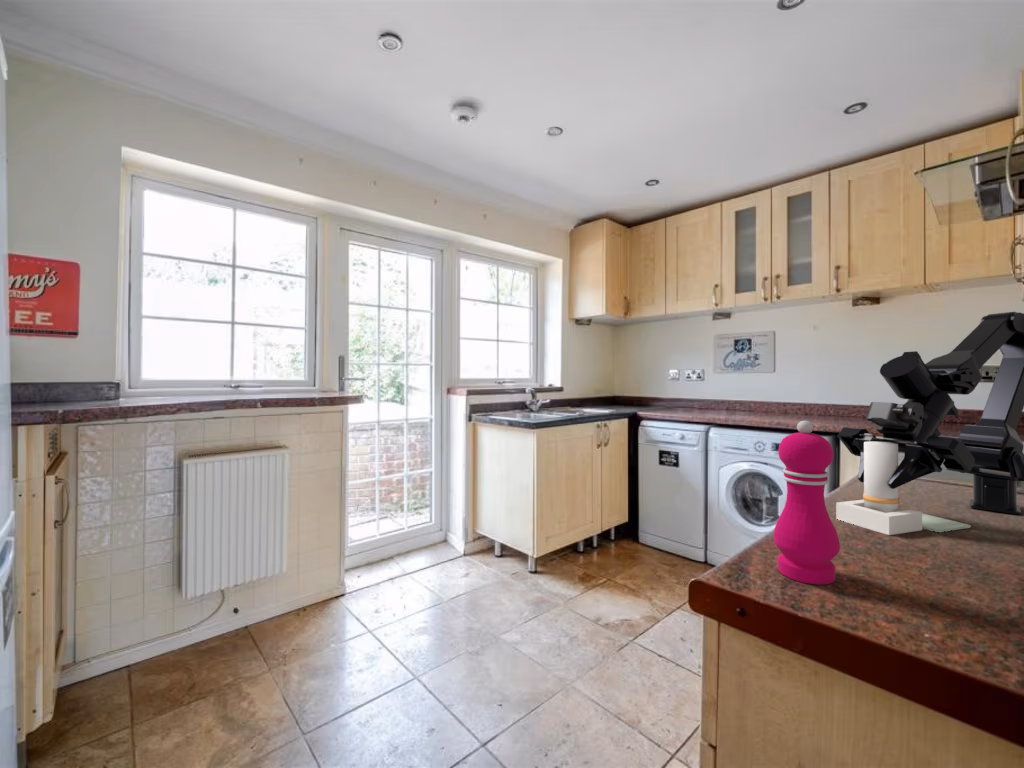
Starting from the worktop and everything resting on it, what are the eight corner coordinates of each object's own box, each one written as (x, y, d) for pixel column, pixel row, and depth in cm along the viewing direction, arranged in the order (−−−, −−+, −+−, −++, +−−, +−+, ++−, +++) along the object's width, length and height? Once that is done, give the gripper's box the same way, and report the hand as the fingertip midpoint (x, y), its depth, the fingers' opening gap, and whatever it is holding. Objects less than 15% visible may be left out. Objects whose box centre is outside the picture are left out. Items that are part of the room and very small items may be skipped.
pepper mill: (849, 577, 58) (849, 420, 58) (824, 592, 54) (824, 424, 54) (789, 559, 64) (788, 417, 64) (763, 571, 60) (762, 420, 60)
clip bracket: (867, 515, 84) (867, 498, 84) (922, 530, 76) (922, 512, 76) (836, 519, 82) (836, 502, 82) (889, 535, 74) (889, 516, 73)
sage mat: (916, 514, 84) (916, 512, 84) (970, 527, 77) (970, 525, 77) (885, 518, 82) (885, 516, 82) (937, 532, 74) (937, 530, 74)
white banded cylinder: (865, 518, 82) (865, 440, 82) (901, 523, 79) (900, 443, 79) (860, 524, 79) (860, 443, 79) (897, 530, 76) (897, 446, 75)
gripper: (844, 385, 89) (800, 445, 86) (962, 386, 71) (912, 462, 68) (874, 424, 91) (832, 483, 88) (996, 434, 73) (948, 510, 70)
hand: (874, 483), depth 79 cm, fingers closed on white banded cylinder, 5 cm apart
